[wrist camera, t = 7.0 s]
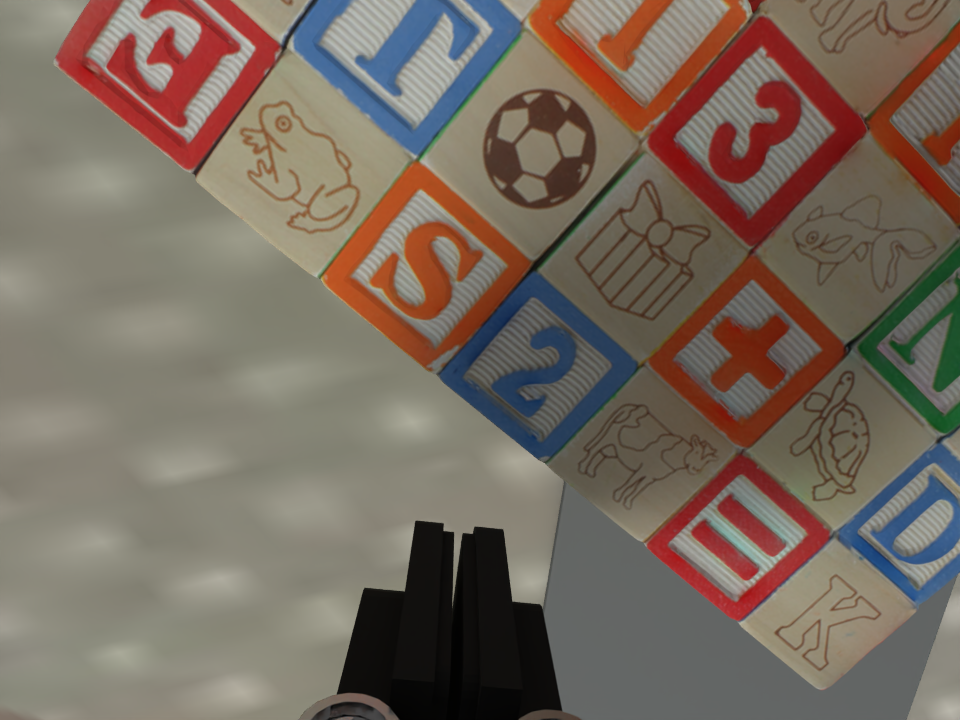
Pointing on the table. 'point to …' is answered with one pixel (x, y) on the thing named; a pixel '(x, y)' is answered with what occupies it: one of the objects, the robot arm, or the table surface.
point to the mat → (693, 642)
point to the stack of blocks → (625, 252)
